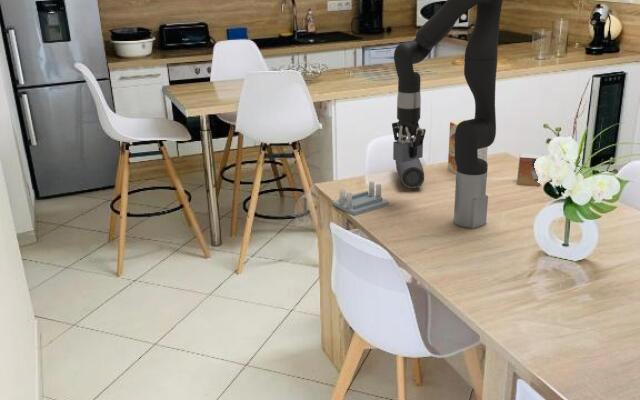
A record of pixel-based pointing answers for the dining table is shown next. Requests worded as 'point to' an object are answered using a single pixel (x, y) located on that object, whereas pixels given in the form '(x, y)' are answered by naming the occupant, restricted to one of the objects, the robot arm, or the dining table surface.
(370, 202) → the pin tray
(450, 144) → the coffeecake box
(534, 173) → the small box
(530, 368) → the dining table surface
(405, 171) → the bluetooth speaker
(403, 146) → the block
